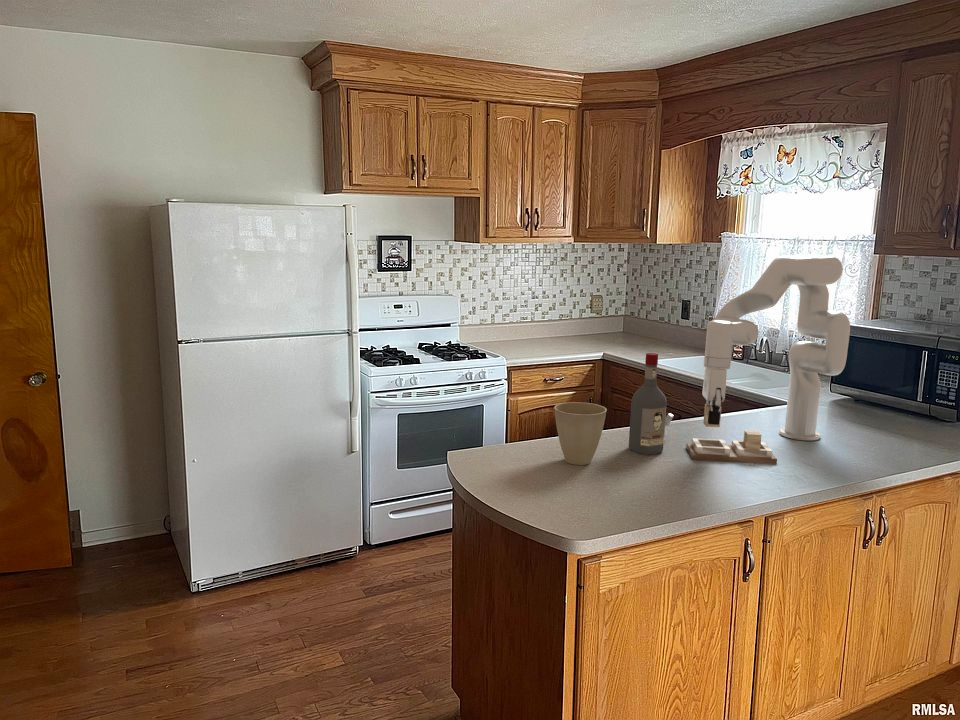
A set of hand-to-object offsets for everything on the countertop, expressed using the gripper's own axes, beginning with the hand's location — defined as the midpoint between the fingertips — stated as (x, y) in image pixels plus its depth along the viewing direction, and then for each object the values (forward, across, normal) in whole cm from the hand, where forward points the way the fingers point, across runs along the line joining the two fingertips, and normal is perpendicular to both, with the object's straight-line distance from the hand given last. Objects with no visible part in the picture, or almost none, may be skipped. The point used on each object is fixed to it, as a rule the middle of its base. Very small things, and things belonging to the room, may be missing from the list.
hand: (711, 421), depth 227 cm
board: (+10, 0, +6) cm, 12 cm away
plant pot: (+11, +13, -40) cm, 43 cm away
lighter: (+11, -18, -12) cm, 24 cm away
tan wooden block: (+1, 0, 0) cm, 1 cm away
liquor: (+11, -1, -19) cm, 22 cm away
